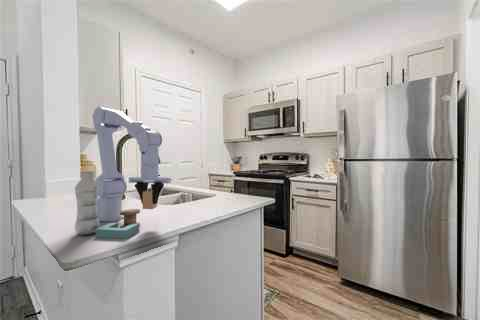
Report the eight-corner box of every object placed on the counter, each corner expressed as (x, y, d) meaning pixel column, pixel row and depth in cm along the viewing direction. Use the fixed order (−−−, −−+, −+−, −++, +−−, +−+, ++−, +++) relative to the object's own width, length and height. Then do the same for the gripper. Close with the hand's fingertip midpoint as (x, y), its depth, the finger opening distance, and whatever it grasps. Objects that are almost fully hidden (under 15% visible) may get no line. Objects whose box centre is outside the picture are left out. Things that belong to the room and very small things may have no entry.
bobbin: (115, 229, 75) (115, 212, 75) (127, 223, 82) (127, 208, 82) (133, 230, 75) (133, 213, 75) (143, 224, 81) (143, 209, 81)
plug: (142, 208, 77) (142, 189, 77) (147, 206, 80) (147, 188, 80) (152, 209, 76) (152, 189, 76) (156, 207, 80) (156, 188, 80)
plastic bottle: (88, 238, 67) (88, 172, 67) (69, 236, 69) (69, 172, 68) (104, 231, 74) (104, 171, 74) (87, 229, 75) (87, 171, 75)
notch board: (95, 237, 68) (95, 229, 68) (111, 229, 75) (111, 222, 75) (126, 238, 67) (126, 230, 67) (138, 231, 74) (138, 223, 74)
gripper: (123, 165, 75) (123, 205, 75) (164, 165, 73) (164, 206, 73) (135, 164, 82) (135, 201, 82) (172, 164, 80) (172, 202, 81)
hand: (149, 203), depth 78 cm, fingers closed on plug, 3 cm apart
